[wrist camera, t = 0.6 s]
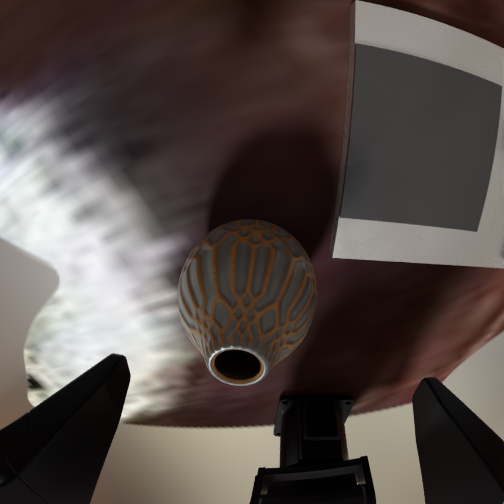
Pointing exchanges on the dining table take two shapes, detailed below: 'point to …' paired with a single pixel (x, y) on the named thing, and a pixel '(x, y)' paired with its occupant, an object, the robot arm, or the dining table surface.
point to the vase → (246, 298)
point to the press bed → (420, 143)
